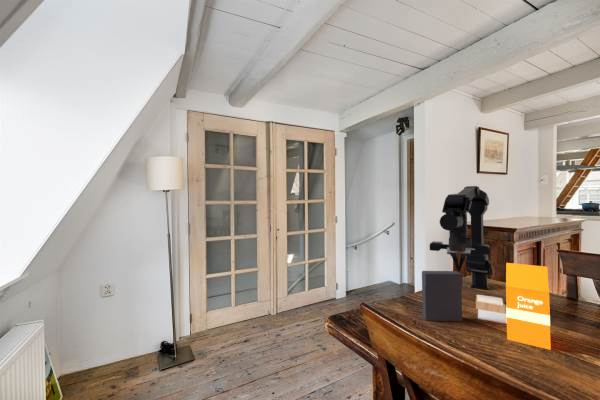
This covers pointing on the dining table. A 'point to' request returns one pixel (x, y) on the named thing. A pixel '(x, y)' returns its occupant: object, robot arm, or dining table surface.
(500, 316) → the mat
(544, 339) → the orange juice
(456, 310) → the charcoal upright rounded slab
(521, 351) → the dining table surface
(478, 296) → the tile
